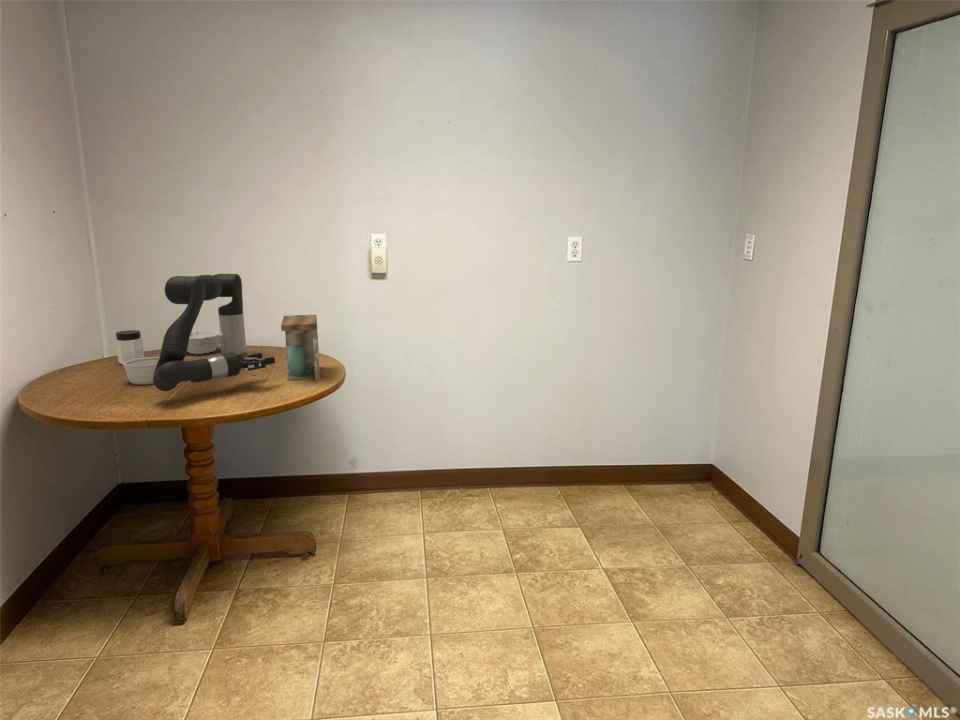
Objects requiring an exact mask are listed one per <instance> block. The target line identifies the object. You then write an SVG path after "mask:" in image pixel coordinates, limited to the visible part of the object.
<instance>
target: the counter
mask: <svg viewBox="0 0 960 720" xmlns="http://www.w3.org/2000/svg"><path fill="white" fill-rule="evenodd" d="M317 315H318V314H300V315H299V314H297V315H294V314H293V315H283V318H282V321H281V325H280V326H281V327H280V329H281V332H284V334H285V337H284V338H285V346H286V349H285V350H286V360H287V365H286V366H287V370H289V364H288V349H287V347H288V346H293V345H303V346H305V355H306V369H309V368H308V367H315V368H314V380H316V381H320V380H321V376H320V375H321V373H320V371H321V370H320V368H321V367H320V349H319V334H318V333H319V332H318V318H317Z"/></svg>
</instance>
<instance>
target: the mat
mask: <svg viewBox="0 0 960 720" xmlns="http://www.w3.org/2000/svg"><path fill="white" fill-rule="evenodd" d="M306 372H307V374H306V375H303V376H290V375H289V371H287V378H286V380H292V381H303V379H308V380H315V368H306Z"/></svg>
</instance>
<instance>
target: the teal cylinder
mask: <svg viewBox="0 0 960 720" xmlns="http://www.w3.org/2000/svg"><path fill="white" fill-rule="evenodd" d="M287 349H288V364H289V369H288V372H289V375H290V376H303V375H306V374H307V372H306V369H307V368H306V355H305V346H303V345H293V346H288V347H287Z"/></svg>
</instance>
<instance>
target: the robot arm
mask: <svg viewBox="0 0 960 720" xmlns="http://www.w3.org/2000/svg"><path fill="white" fill-rule="evenodd" d="M164 294H165V297H166V298H167V300H168V301H169V302H171V303H172V304H175V305H187V306H186V307H185V309H184V311H183V312H182V313H181V314H180V315H179V317H177V319H176V320H175V321H173V323H172V324H170V326H169V327H168V328H167V330H166V332H165V334H164V336H163V341H162V344H161V349H160V355H159V357H160V358H159V360H158V363H157V366H156V368H155V371H154V375H153V383H152V384H153V385H154V387H155V388H156V389H157V390H159V391H162V392H169V391H172V390H174V389H175V388H176V387H177V386H178V384H179V383H184V382H188V381H189V382H190V383H201V382H207V381H210V380H212V381H213V380H220V379H225V378H231V377H235V376H236V377H237V376H238V375H239V374H240V372H241V370H248V371H254V370H260V369H265V368H267V366H268V365H273V364H274V365H275V363H276V358H275V357H274V356H270V357H265V358H263V354H262V353H261V352H258V353H252V354H251V353H247V352H248V351H247V340H246V329H245V317H244V302H243V300H244V299H243V282H242V278H241V276H240V275H239V274H237V273H216V274H213V275H212V274H201V275H196V276H195V275H194V276H192V275H191V276H189V275H188V276H187V275H186V276H184V275H176V276H171V277H170V278H168V280H166V283H165V285H164ZM218 298H231V301H230V302H228V303H227V304H223V305H221V306H219V307H218V309H217V311H218V312H217V313H218V323H219V333H220V345H219V346H220V351H221V352H220V354H217V355H213V356H209V357H206V358H200V359H195V360H185V358H186V356H187V352H188V351H187V347H188V343H189V338H190V334H191V332H193V328H194V326H195V324H196V321H197V319H198V317H199V314H200V311H201V308H202V307H203V304H204V301H206V302H208V301H213V300H215V299H218Z"/></svg>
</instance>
